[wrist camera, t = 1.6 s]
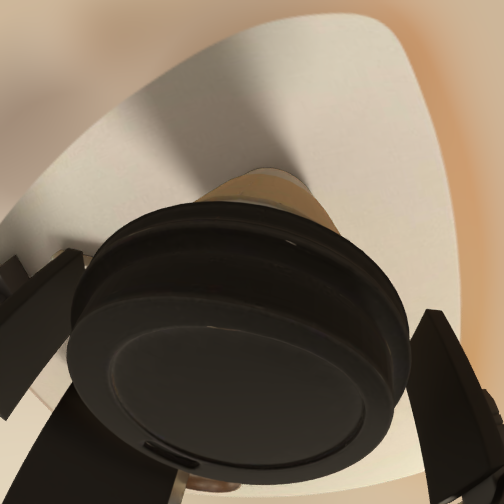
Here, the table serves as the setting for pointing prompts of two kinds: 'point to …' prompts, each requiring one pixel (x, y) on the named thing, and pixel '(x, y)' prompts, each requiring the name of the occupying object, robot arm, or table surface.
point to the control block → (11, 278)
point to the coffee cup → (240, 336)
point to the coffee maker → (90, 463)
